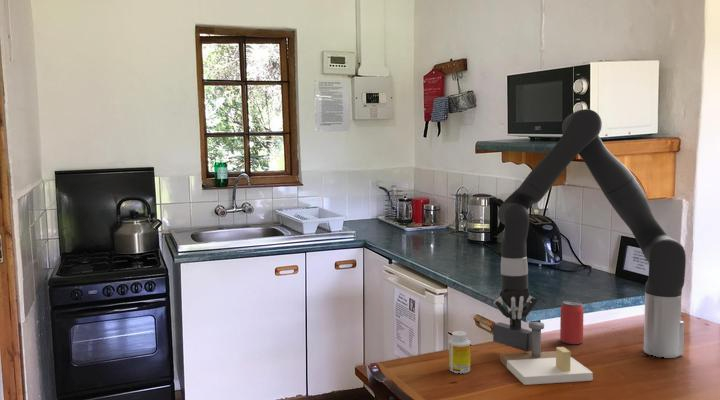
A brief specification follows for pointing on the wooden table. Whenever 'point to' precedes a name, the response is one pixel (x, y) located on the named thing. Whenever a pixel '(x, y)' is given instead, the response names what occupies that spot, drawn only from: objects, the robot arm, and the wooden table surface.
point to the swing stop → (512, 336)
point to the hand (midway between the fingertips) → (515, 330)
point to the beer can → (571, 322)
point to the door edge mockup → (545, 363)
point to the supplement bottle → (459, 352)
